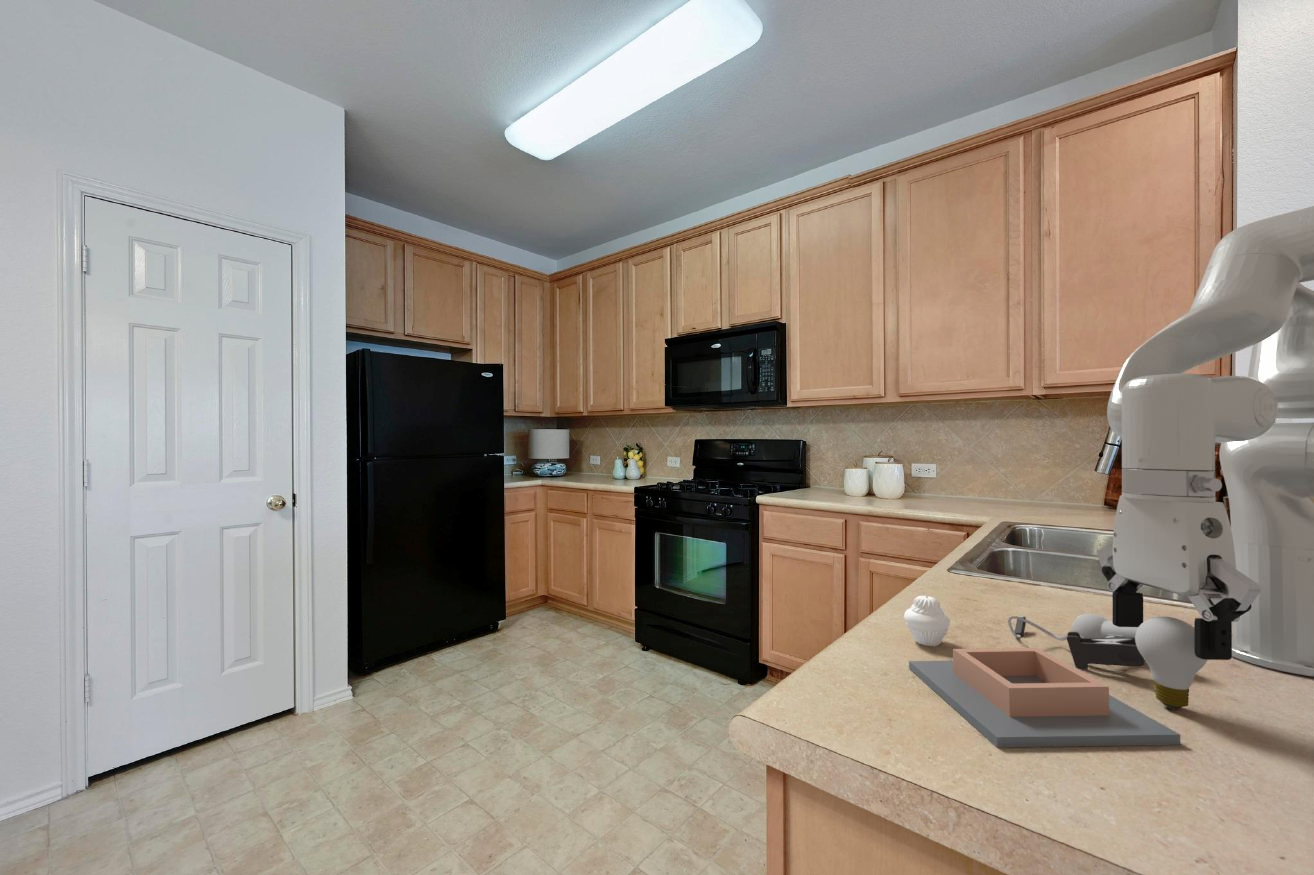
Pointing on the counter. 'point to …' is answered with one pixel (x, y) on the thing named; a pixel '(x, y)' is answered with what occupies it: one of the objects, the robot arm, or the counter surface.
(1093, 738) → the holder board
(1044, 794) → the counter surface
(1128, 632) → the clip-on lamp
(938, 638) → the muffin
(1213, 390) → the robot arm
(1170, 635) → the light bulb
